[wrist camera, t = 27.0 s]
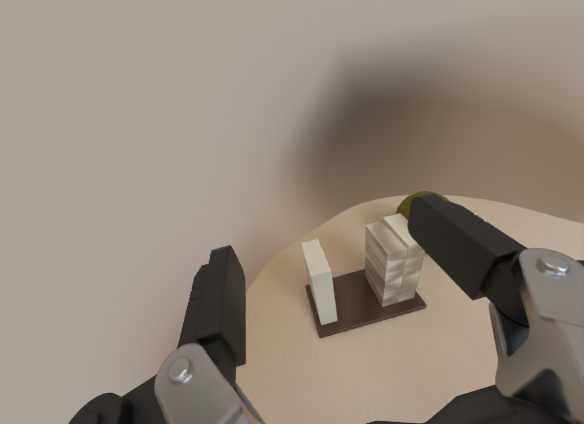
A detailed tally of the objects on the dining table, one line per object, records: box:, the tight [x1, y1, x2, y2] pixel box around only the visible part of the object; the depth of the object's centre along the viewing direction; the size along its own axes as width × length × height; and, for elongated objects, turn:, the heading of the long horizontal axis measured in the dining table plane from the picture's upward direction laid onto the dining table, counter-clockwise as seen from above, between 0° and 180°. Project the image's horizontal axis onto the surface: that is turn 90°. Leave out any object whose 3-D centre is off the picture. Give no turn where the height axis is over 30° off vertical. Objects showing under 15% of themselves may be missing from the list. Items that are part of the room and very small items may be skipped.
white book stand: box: [306, 213, 427, 338], centre depth 33 cm, size 17×9×13 cm, turn 100°
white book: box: [301, 239, 338, 325], centre depth 32 cm, size 3×6×12 cm, turn 10°
